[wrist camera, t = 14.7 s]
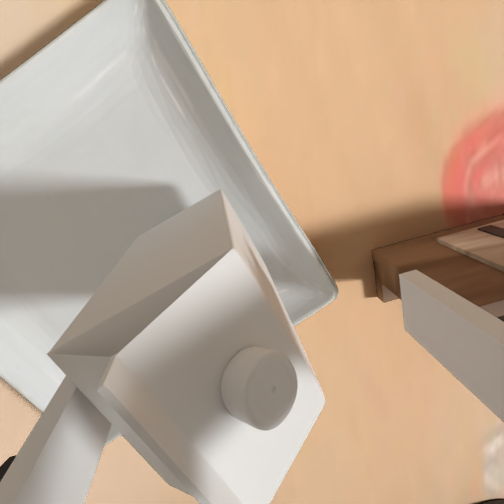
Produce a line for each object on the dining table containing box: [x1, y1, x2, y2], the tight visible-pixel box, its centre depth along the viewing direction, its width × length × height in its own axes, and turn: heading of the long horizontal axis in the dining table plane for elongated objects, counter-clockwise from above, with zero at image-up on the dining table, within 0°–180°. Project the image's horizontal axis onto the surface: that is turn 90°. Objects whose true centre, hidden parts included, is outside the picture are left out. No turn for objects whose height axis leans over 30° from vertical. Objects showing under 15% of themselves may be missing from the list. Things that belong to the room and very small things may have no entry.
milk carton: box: [47, 189, 325, 504], centre depth 17 cm, size 7×7×19 cm
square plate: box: [0, 0, 338, 446], centre depth 27 cm, size 27×27×4 cm
